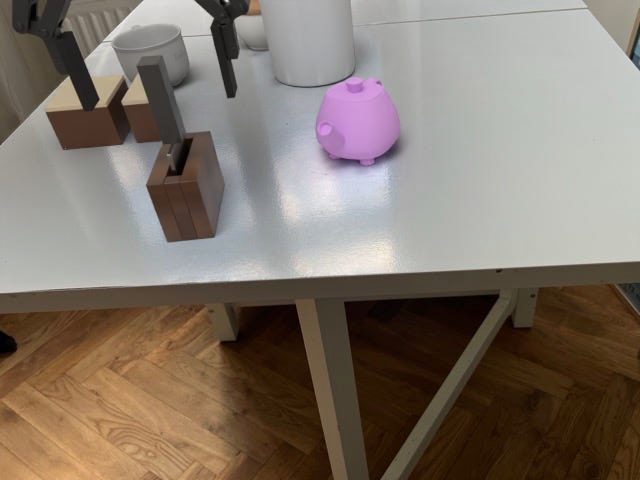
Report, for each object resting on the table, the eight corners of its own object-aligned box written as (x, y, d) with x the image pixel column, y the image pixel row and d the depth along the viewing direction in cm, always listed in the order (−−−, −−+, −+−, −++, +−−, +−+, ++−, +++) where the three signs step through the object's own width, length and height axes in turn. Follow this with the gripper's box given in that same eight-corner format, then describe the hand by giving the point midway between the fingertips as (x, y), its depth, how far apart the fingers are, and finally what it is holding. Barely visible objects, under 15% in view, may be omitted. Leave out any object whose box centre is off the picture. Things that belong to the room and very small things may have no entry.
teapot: (416, 135, 75) (416, 65, 69) (365, 190, 65) (359, 114, 59) (349, 123, 78) (343, 55, 72) (291, 173, 69) (278, 100, 62)
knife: (202, 228, 61) (152, 72, 49) (184, 230, 61) (130, 74, 49) (210, 194, 66) (166, 46, 55) (193, 195, 66) (146, 48, 54)
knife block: (214, 237, 59) (196, 180, 55) (167, 242, 59) (145, 185, 54) (224, 184, 67) (210, 130, 63) (183, 188, 67) (165, 134, 62)
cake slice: (136, 143, 77) (121, 101, 73) (151, 112, 84) (137, 73, 80) (165, 140, 77) (151, 98, 73) (177, 110, 84) (165, 70, 80)
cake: (62, 149, 76) (43, 108, 72) (83, 118, 84) (67, 79, 80) (121, 144, 77) (105, 102, 73) (137, 113, 84) (123, 74, 80)
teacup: (198, 89, 90) (184, 37, 85) (128, 102, 88) (110, 49, 82) (188, 61, 100) (174, 14, 95) (125, 72, 97) (108, 24, 92)
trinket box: (242, 58, 100) (230, 2, 94) (231, 41, 108) (220, -13, 101) (299, 48, 103) (291, -8, 96) (285, 32, 110) (277, -21, 104)
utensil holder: (254, 85, 90) (229, -36, 79) (292, 53, 101) (275, -58, 89) (338, 92, 87) (326, -34, 75) (368, 58, 97) (361, -57, 85)
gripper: (-138, -171, 37) (18, 128, 51) (239, -196, 38) (289, 102, 52) (-80, -175, 42) (46, 95, 56) (247, -197, 44) (290, 73, 58)
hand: (163, 99), depth 54 cm, fingers open, 13 cm apart
